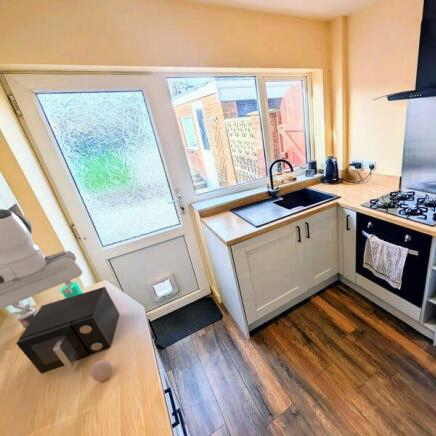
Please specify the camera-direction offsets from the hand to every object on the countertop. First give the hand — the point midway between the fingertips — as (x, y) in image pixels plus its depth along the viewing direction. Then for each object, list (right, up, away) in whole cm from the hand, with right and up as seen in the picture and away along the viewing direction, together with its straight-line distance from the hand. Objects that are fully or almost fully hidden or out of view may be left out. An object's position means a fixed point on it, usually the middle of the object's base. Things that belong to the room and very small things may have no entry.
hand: (50, 301), depth 75 cm
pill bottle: (-33, -19, +28) cm, 47 cm away
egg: (+15, -25, +3) cm, 29 cm away
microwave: (-4, -21, +17) cm, 27 cm away
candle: (-23, -14, +37) cm, 46 cm away
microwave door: (-2, -25, +7) cm, 26 cm away
